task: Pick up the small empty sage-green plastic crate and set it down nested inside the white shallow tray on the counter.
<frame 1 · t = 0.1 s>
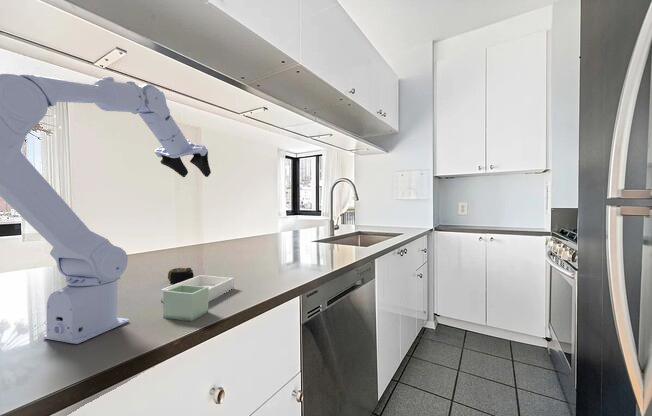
hand: (196, 174, 78), 32 cm above the counter, fingers open, 7 cm apart
white shallow tray: (200, 294, 72), on the counter
small crate: (186, 314, 59), on the counter
tape measure: (183, 281, 85), on the counter
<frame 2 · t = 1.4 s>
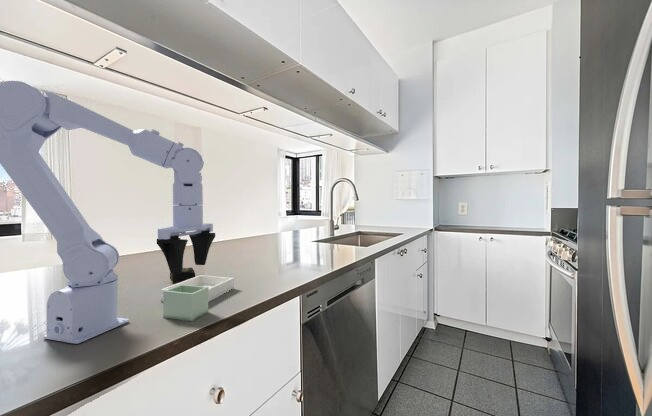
hand: (188, 268, 59), 10 cm above the counter, fingers open, 7 cm apart
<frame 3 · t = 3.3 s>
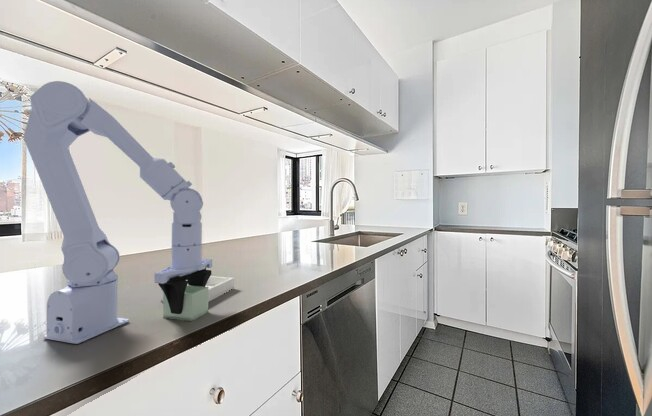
hand: (186, 308, 59), 1 cm above the counter, fingers closed on small crate, 5 cm apart
small crate: (186, 314, 59), on the counter, touching gripper
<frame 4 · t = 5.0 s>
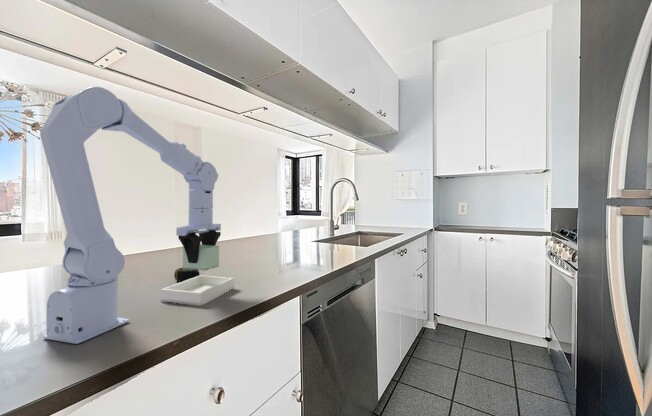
hand: (200, 260, 72), 9 cm above the counter, fingers closed on small crate, 5 cm apart
small crate: (201, 267, 72), point 7 cm above the counter, touching gripper
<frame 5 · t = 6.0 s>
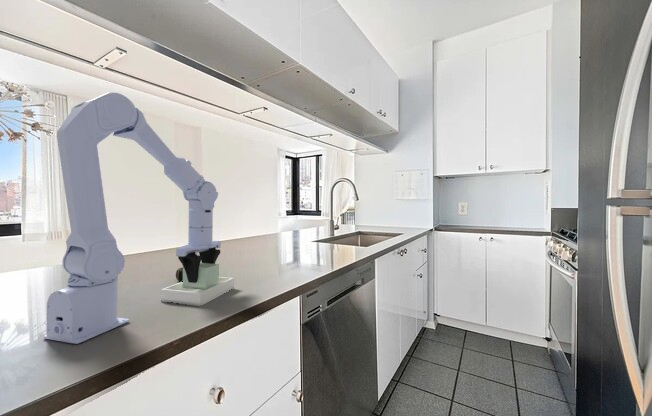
hand: (200, 279, 72), 4 cm above the counter, fingers closed on small crate, 5 cm apart
small crate: (201, 286, 72), point 2 cm above the counter, touching gripper
when the fingers open (4 cm above the counter, at t = 6.8 s): small crate drops 2 cm, resting on white shallow tray.
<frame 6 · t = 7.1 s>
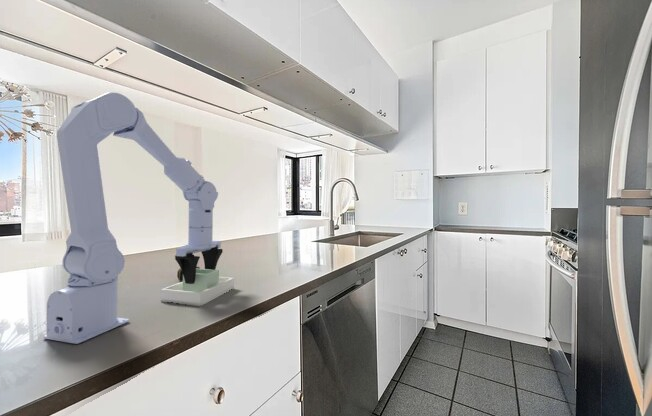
hand: (200, 279, 72), 4 cm above the counter, fingers open, 7 cm apart
small crate: (201, 292, 72), point 1 cm above the counter, touching white shallow tray
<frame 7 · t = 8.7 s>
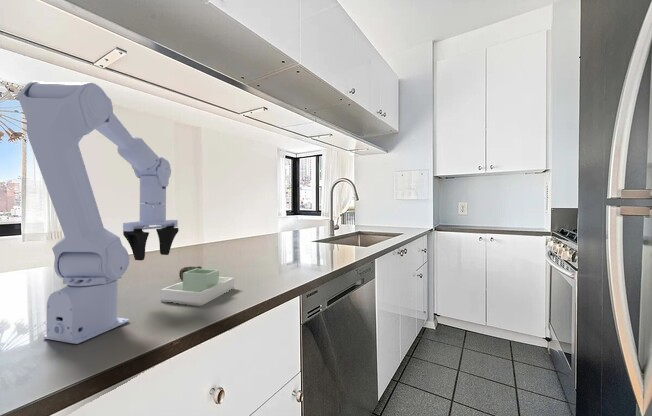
hand: (152, 257, 71), 10 cm above the counter, fingers open, 7 cm apart
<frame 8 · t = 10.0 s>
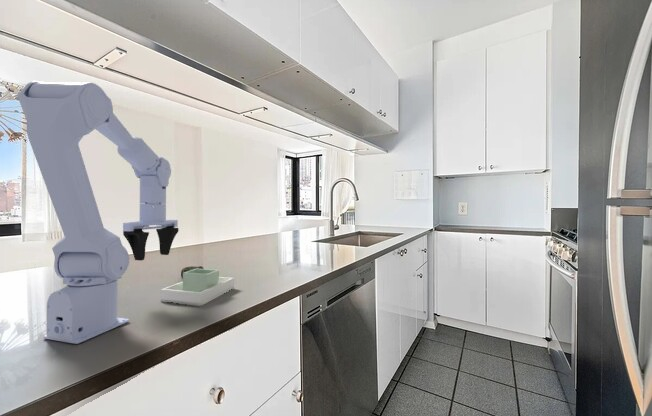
hand: (152, 257, 71), 10 cm above the counter, fingers open, 7 cm apart
at the end: small crate inside the target area on the white shallow tray (0.3 cm from its centre), point 0.6 cm above the white shallow tray's base; small crate tilted 0°; the gripper is holding nothing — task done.
